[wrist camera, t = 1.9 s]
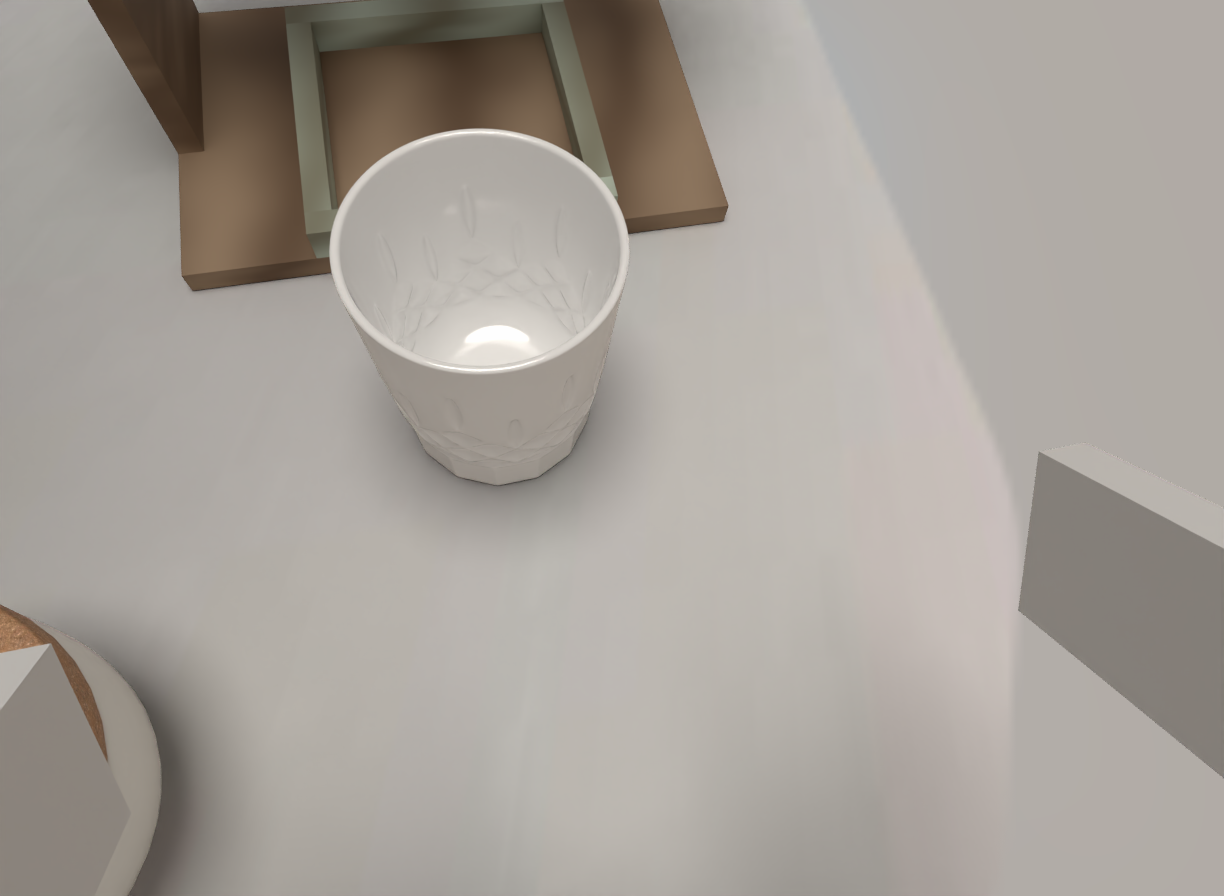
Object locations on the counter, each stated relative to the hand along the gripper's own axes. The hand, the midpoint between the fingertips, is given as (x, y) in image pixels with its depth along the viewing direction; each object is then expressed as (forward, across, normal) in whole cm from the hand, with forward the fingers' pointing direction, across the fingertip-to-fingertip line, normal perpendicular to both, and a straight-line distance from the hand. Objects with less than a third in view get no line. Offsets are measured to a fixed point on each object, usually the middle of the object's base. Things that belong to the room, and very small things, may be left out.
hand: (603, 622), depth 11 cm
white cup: (+20, 0, -4) cm, 20 cm away
